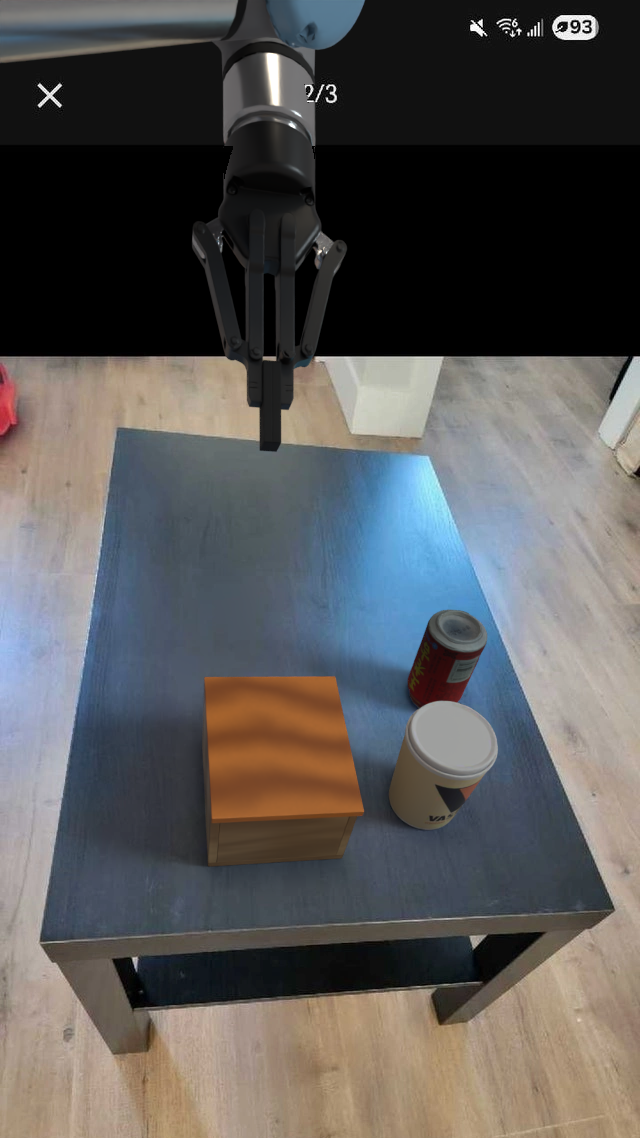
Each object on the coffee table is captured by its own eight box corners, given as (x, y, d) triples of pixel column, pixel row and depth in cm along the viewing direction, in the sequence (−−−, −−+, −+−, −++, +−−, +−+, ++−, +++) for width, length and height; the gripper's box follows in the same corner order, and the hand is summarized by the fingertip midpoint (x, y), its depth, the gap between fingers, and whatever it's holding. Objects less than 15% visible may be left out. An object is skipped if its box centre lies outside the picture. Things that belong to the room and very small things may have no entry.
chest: (342, 858, 70) (361, 807, 63) (207, 867, 67) (210, 814, 60) (320, 737, 80) (334, 681, 72) (201, 740, 77) (204, 682, 70)
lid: (362, 816, 62) (364, 811, 62) (211, 823, 59) (211, 818, 59) (334, 681, 72) (335, 676, 72) (204, 681, 70) (204, 676, 69)
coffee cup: (424, 853, 72) (458, 789, 63) (363, 792, 76) (388, 724, 67) (479, 808, 77) (519, 743, 68) (420, 753, 81) (450, 684, 72)
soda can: (469, 704, 87) (502, 635, 78) (428, 725, 84) (457, 655, 74) (433, 668, 90) (461, 597, 81) (392, 687, 87) (416, 615, 78)
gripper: (336, 190, 61) (334, 463, 63) (187, 168, 58) (191, 454, 60) (358, 128, 54) (355, 439, 56) (189, 100, 51) (193, 427, 53)
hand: (270, 446), depth 58 cm, fingers closed
